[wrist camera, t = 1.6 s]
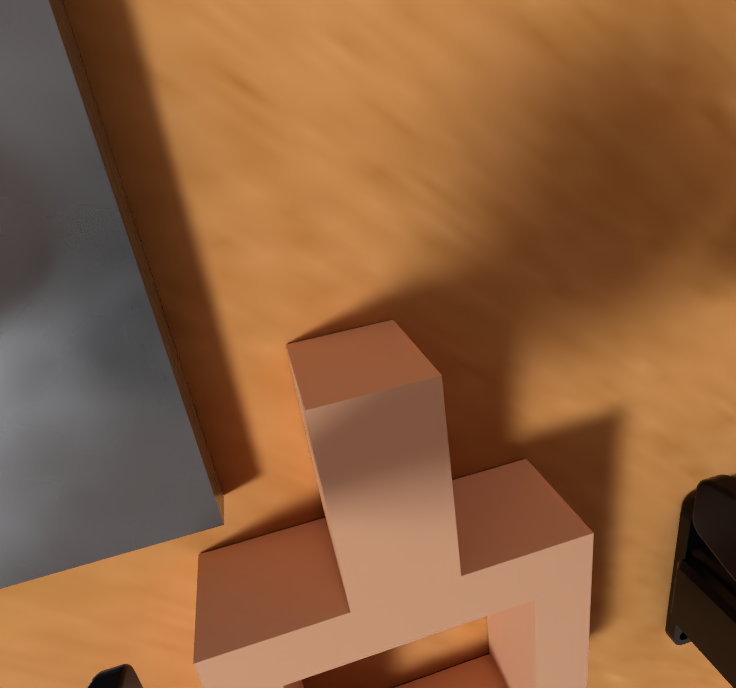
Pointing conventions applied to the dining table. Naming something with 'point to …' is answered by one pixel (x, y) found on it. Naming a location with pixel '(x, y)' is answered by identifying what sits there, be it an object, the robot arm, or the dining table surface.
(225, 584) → the square ring with tab
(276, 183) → the dining table surface
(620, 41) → the dining table surface
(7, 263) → the base with metal peg
